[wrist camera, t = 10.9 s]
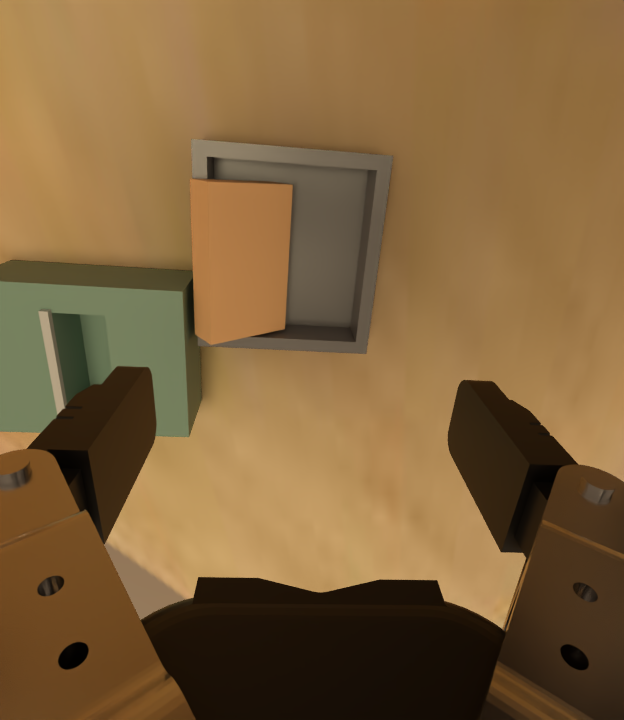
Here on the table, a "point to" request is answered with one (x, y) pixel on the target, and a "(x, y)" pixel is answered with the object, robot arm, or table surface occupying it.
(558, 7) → the table surface
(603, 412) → the table surface
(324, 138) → the table surface
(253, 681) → the robot arm
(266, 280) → the tan wooden plank
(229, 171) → the tray
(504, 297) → the table surface
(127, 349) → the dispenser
